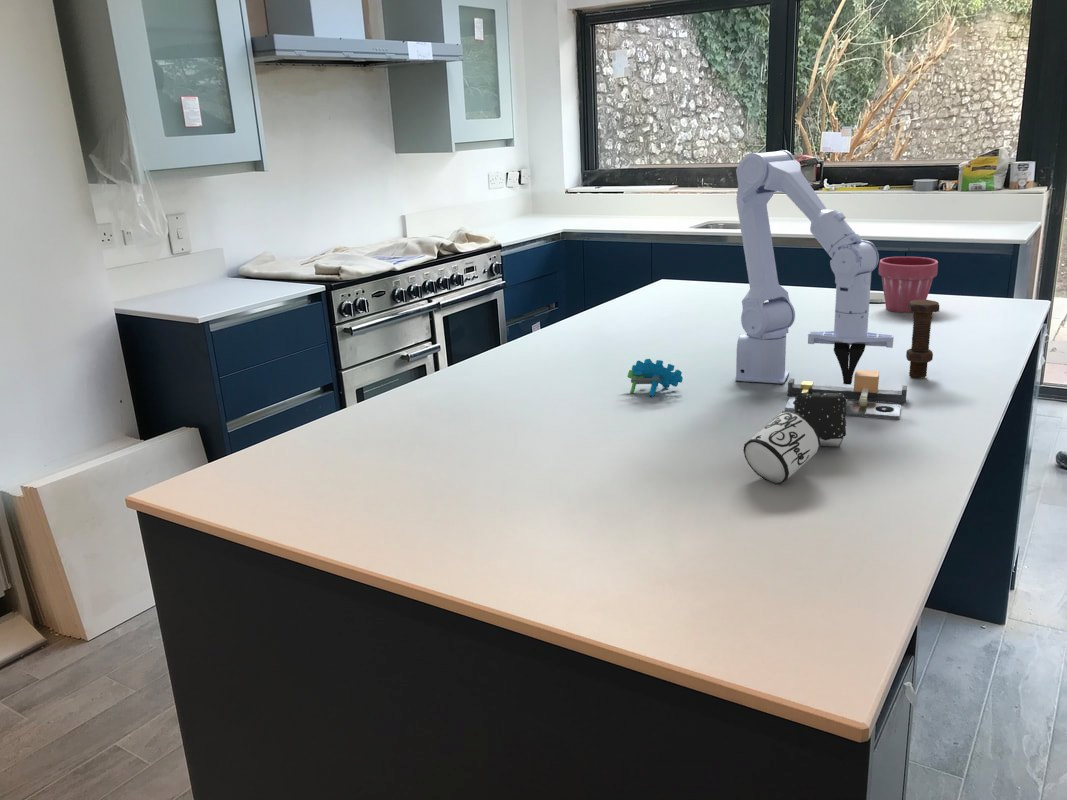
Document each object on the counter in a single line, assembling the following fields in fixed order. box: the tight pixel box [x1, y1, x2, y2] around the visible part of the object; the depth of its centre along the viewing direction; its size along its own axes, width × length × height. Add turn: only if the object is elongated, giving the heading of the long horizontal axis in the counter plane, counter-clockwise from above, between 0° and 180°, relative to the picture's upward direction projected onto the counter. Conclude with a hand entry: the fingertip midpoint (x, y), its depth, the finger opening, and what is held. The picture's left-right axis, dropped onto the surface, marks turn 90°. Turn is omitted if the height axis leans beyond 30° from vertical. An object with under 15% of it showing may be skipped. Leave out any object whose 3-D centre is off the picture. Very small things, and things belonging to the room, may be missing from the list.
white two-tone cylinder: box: [742, 392, 847, 485], centre depth 133 cm, size 25×10×10 cm, turn 142°
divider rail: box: [787, 377, 908, 405], centre depth 160 cm, size 21×10×3 cm, turn 67°
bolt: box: [905, 299, 940, 380], centre depth 170 cm, size 6×5×15 cm
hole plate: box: [784, 396, 902, 420], centre depth 156 cm, size 19×6×1 cm, turn 67°
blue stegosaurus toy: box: [627, 358, 683, 398], centre depth 171 cm, size 11×6×10 cm
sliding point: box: [853, 369, 880, 406], centre depth 158 cm, size 4×10×4 cm, turn 157°
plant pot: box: [878, 256, 939, 313], centre depth 229 cm, size 14×14×13 cm
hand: (847, 383), depth 162 cm, fingers closed
